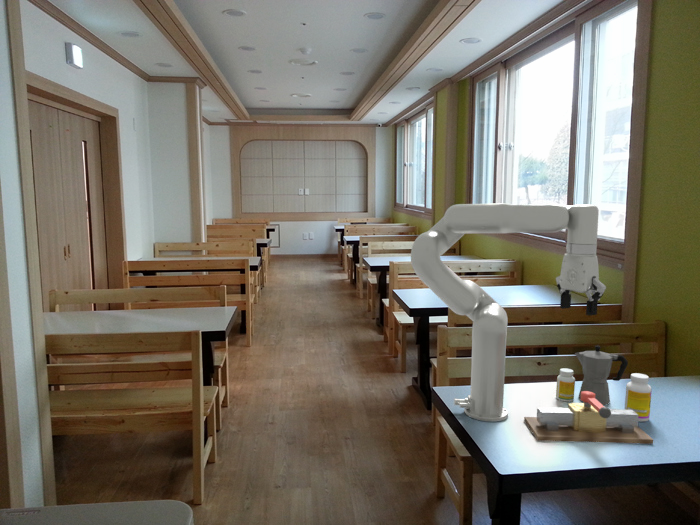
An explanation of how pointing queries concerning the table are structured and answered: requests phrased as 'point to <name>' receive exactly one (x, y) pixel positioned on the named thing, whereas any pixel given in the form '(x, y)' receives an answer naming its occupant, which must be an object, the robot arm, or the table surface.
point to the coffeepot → (599, 372)
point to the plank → (586, 434)
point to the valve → (586, 419)
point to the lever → (594, 404)
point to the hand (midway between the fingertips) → (578, 311)
